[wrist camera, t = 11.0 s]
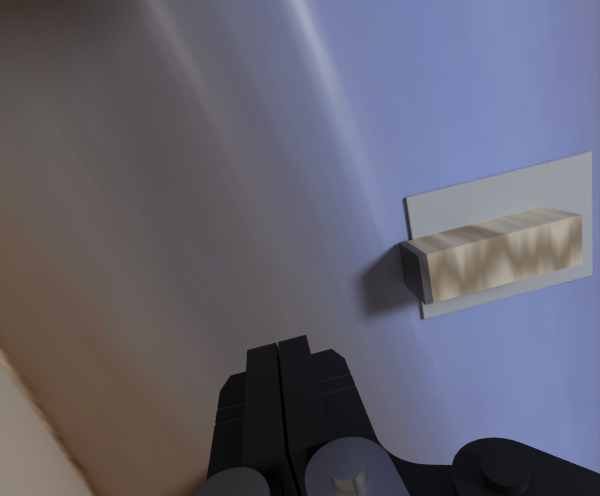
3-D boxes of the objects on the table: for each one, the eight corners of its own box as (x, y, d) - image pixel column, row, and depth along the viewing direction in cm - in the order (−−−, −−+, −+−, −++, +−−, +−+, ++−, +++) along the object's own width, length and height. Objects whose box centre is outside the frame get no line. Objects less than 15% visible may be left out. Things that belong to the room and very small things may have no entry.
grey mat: (405, 197, 39) (406, 197, 38) (589, 151, 40) (591, 151, 39) (423, 318, 43) (424, 319, 42) (590, 274, 44) (592, 275, 43)
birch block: (418, 256, 35) (581, 214, 36) (399, 242, 40) (543, 206, 40) (425, 305, 36) (582, 263, 37) (406, 286, 41) (545, 250, 42)
